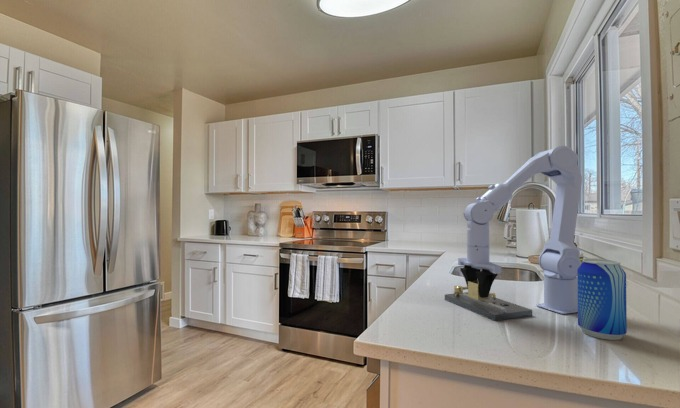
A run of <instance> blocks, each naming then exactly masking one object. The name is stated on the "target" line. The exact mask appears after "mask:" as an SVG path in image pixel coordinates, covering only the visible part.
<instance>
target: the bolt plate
mask: <svg viewBox="0 0 680 408" xmlns="http://www.w3.org/2000/svg"><path fill="white" fill-rule="evenodd" d="M453 289H454V290H453V293H445V294H444V300H445V301H447V302H449V303H452V304H454V305H456V306H459V307H461V308H463V309H466V310H468V311H471V312H473V313H476V314H477V315H480V316H482V317H485V318H487V319H490V320H492V321H493V322H499V321H505V320H512V319H518V318H520V319H521V318H526V317H527V318H528V317H532V316H533V310H532V309H531V308H528V307H524V306H521V305H520V304H519V305H518V304H516V303H514V302H510V301H507V300H504V299H500V298H497V297H496V300H493V296H489V299H488V300H479V301H478V300H475V299H473V298H470V297H468V291H467V292H465V291H464V290H468V288H467V286H461V285H455V286H454V287H453Z"/></svg>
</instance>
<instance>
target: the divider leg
mask: <svg viewBox="0 0 680 408" xmlns="http://www.w3.org/2000/svg"><path fill="white" fill-rule="evenodd" d="M467 292H468V297H470V298H473V299H475V300H478V301H479V300H488V299H489V296H492V297H493V300H496V298H497V297H496V296H497V295H496V293H495V292H489V296H488V297H486V298H481V297H480V291H479V282H478V280H474V281H468V289H467Z"/></svg>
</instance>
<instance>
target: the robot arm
mask: <svg viewBox="0 0 680 408" xmlns="http://www.w3.org/2000/svg"><path fill="white" fill-rule="evenodd" d="M578 160H579V155H578V154H577V153H576V151H574V150H573V149H572V148H571V147H569V146H567V145H558V146H556V147H554V148H550V149H547V150H542V151H539V152H537V153H535V155H534V156H532V157H531V158H529V159H528V160H526V162H525V163H524V164H522V166H520V167H519V168H517V170H516V171H515V172H514V173H513V174H512V175H511V176H509V178H507V179H506V180H505V181H504V182H503V183H495V184H491V185H489V186H488V187H487V189H488V190H487V191H486V192H485V193H484V194H482V195H481V196H478V197H476V198H475V202H473V203H470V204H468V205H467V206H466V207H465V210H464V212H463V214H462V215H463V217H464V219H465V221H466V257H459V258H458V259H457V264H458V265H459V266H463V267H460V269H459V270H460V272H461V274H462V276H463V278H464V281H465V283H466V287H467V288H468V281H474V280H478V282H479V291H480V297H481V298H486V297H488V296H489V293H491V287H492V285H493V283H494V281H495V279H496V278H497V276H498V274H502V265H498V264H495V263H494V262H491V261H490V221H492V220H493V217H494V214H496V212H498V211H499V210H500V209H501V208H502V207H504V206H505V205H506V204H507V203H508V202H509V201H511V200H512V198H513V192H514V191H515V190H517V189H518V188H519V187H521V186H522V185H524V183H526V182H527V181H528V180H530V179H531V178H533V177H534V176H535V175H536V174H542V175H543V176H546V177H548V178H550V179H551V181H553V182H554V184H556V192H555V198H554V204H553V205H554V206H553V213H552V219H551V229H550V235H549V239H548V241H547V242H546V243H544V245H543V249H542V252H541V253H540V255H539V256H538V265H539V267H540V269H542V270H543V271H542V273H543V302H542V303H536V305H535V306H537V307H538V308H541V309H546V310H547V311H548V310H549V311H552V312H555V313H557V314H560V315H566V314H574V313H578V275H577V270H578V268H579V267H580V265H581V264H582V261H581V259H580V255H581V252H580V249H579V248H578V247H577V245H576V244H575V243H574V241H575V234H576V228H577V227H576V226H577V220H578V211H579V205H580V198H581V197H580V196H581V189H582V182H583V179H582V174H581V170H580V168H579V165H578V162H579V161H578Z"/></svg>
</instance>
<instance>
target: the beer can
mask: <svg viewBox="0 0 680 408" xmlns="http://www.w3.org/2000/svg"><path fill="white" fill-rule="evenodd" d="M577 277H578V312H577V326H579V328H580V329H581V332H583V333H584V334H585V335H588V336H590V337H593V338H597V339H602V340H609V341H618V340H622V339H623V338H624V336H625V335H626V334H627V333H628V329H627V328H628V327H627V325H628V323H627V320H628V319H627V316H628V314H627V273H626V271H625V269H623V268H622V266H621V262H620V261H617V260H610V259H603V258H602V259H601V258H583V259H582V261H581V265H580V267H579V268H578V270H577Z"/></svg>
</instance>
